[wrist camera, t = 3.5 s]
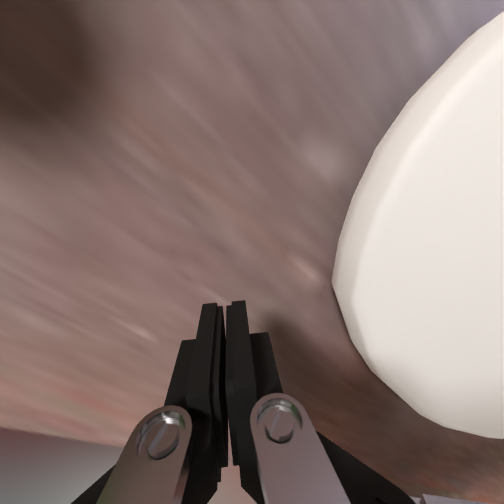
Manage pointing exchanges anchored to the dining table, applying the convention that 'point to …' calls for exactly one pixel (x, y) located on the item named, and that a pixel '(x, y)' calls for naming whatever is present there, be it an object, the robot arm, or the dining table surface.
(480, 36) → the plate
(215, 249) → the dining table surface
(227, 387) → the robot arm
